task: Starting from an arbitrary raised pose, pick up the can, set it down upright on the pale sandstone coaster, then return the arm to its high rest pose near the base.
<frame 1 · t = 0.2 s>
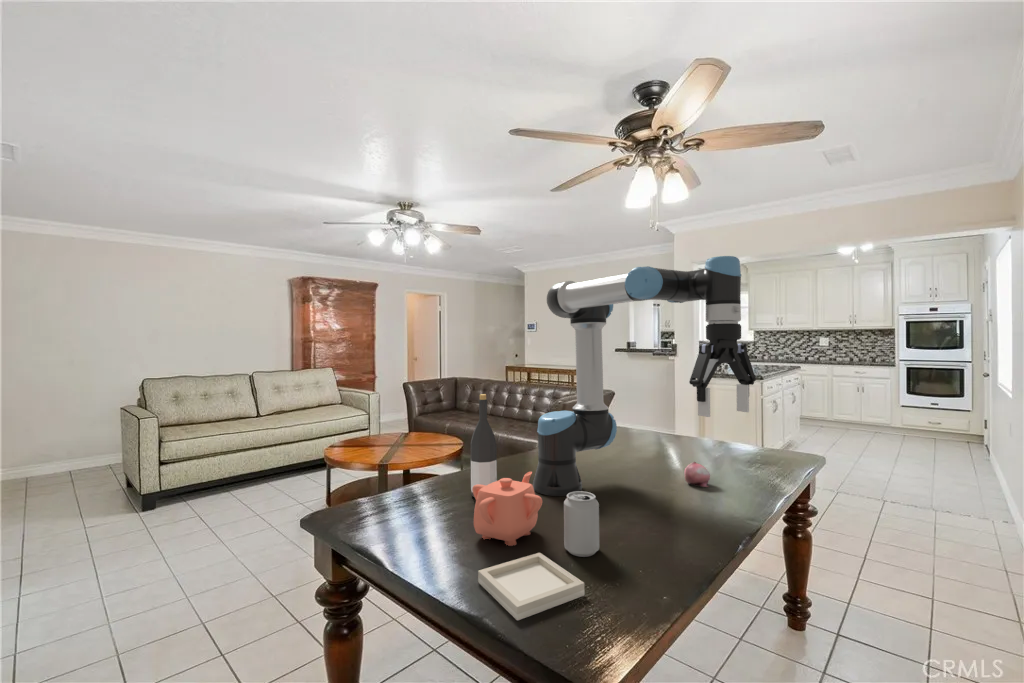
hand: (724, 413, 106), 28 cm above the table, fingers open, 13 cm apart
pink kettle: (508, 534, 107), on the table
coaster: (529, 588, 83), on the table
can: (581, 551, 98), on the table
wine bottle: (483, 495, 135), on the table
pomegranate: (697, 485, 142), on the table
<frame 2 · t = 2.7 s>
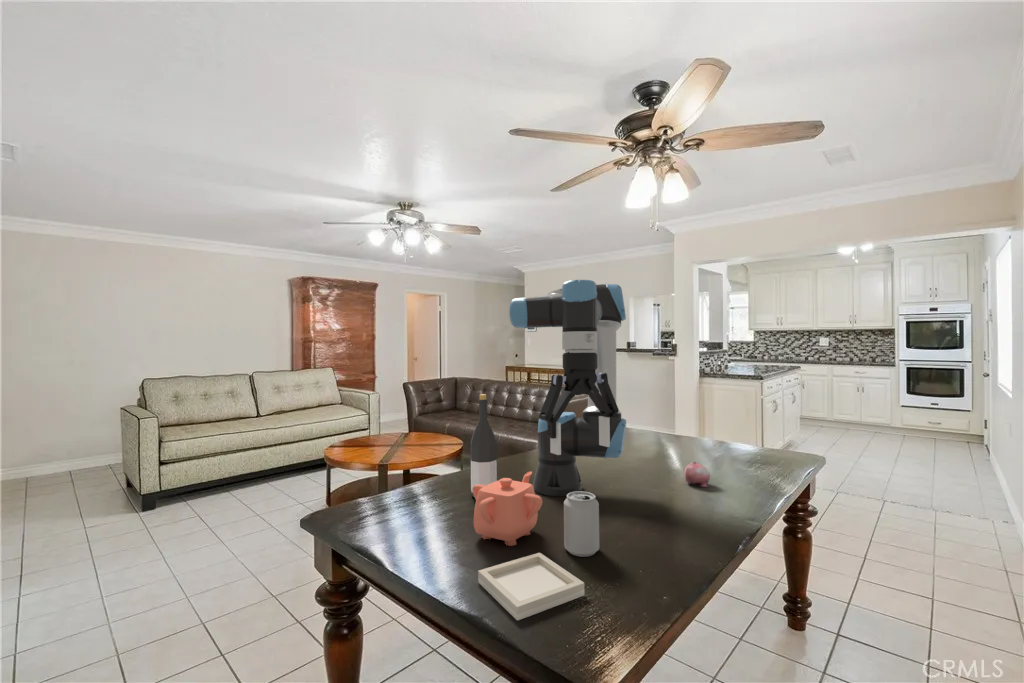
hand: (580, 449, 98), 22 cm above the table, fingers open, 13 cm apart
nothing on the table moved.
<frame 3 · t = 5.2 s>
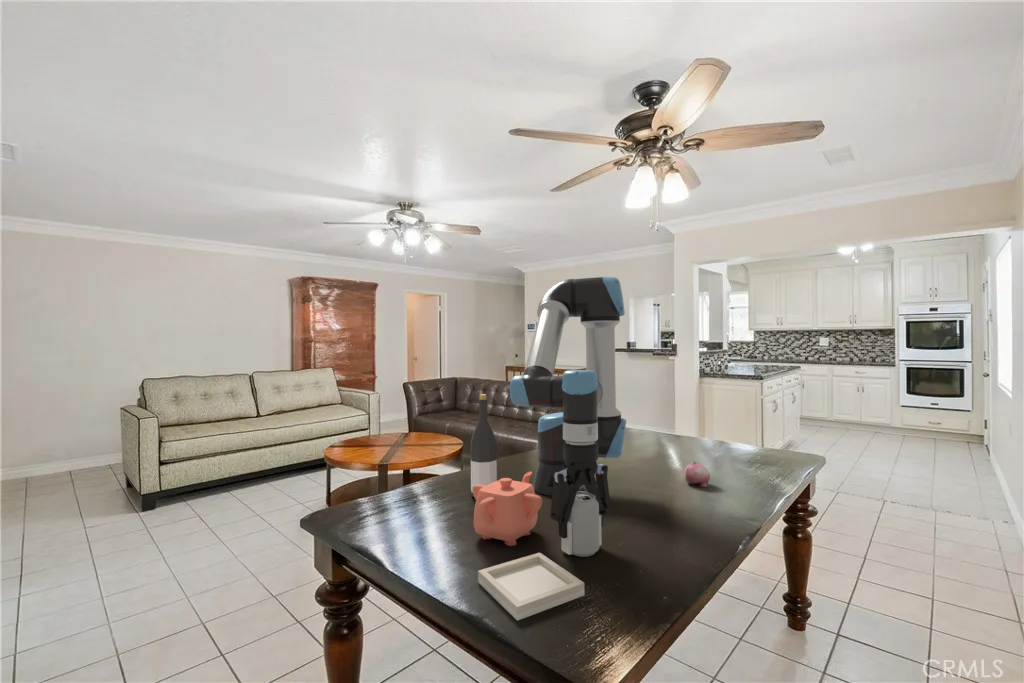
hand: (581, 547, 98), 1 cm above the table, fingers closed on can, 7 cm apart
can: (581, 551, 98), on the table, touching gripper
everything else where it was.
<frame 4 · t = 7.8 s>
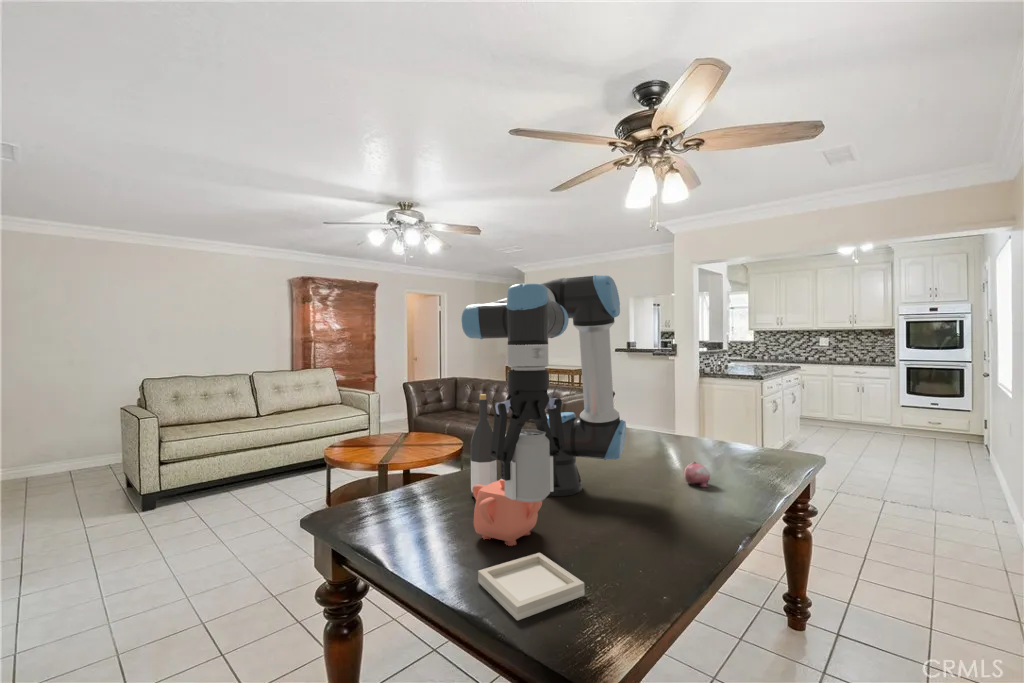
hand: (529, 493, 83), 17 cm above the table, fingers closed on can, 7 cm apart
can: (529, 498, 83), point 16 cm above the table, touching gripper
everything else where it was.
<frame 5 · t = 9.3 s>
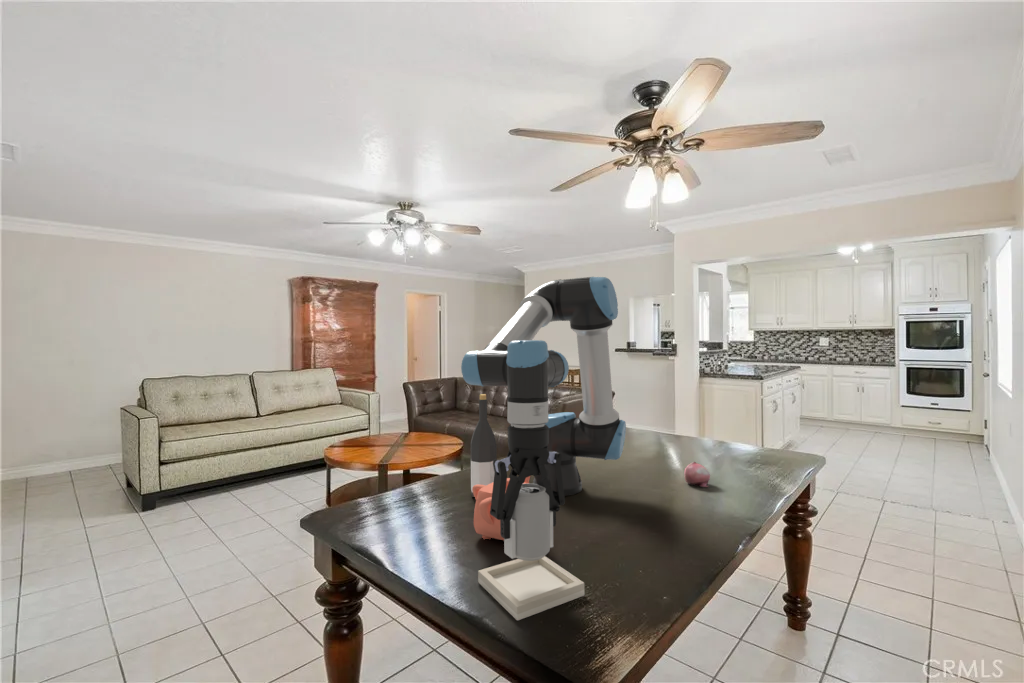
hand: (529, 549, 83), 7 cm above the table, fingers closed on can, 7 cm apart
can: (529, 554, 82), point 6 cm above the table, touching gripper
everything else where it was.
when the fingers open (3 cm above the table, at t = 10.4 s): can drops 1 cm, resting on coaster.
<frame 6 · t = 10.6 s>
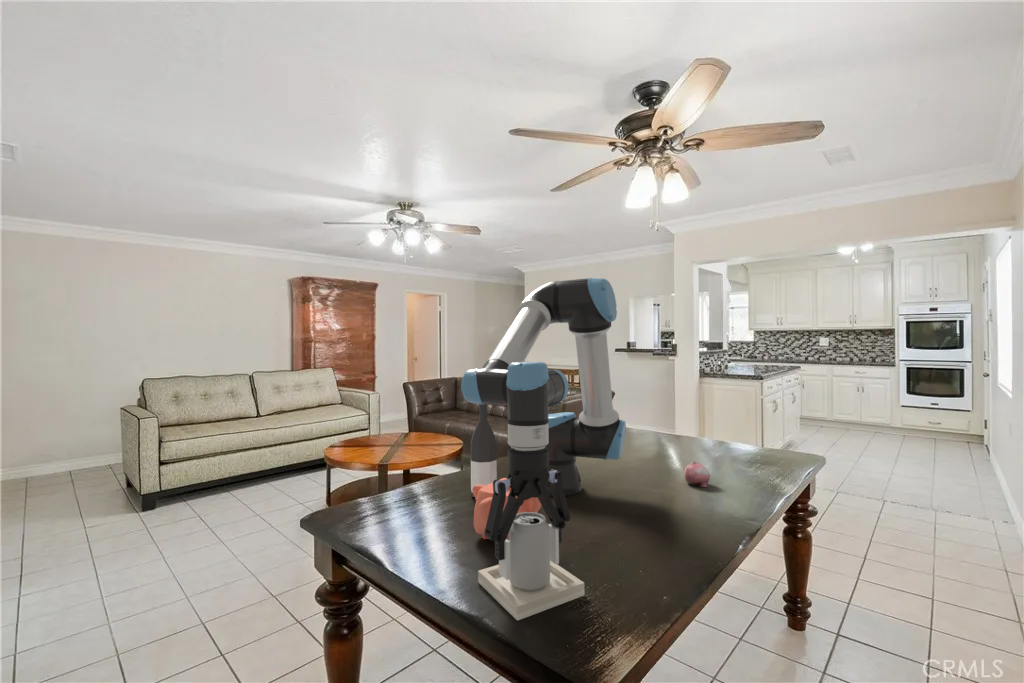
hand: (529, 568, 83), 4 cm above the table, fingers open, 10 cm apart
can: (529, 584, 83), point 1 cm above the table, touching coaster
everything else where it was.
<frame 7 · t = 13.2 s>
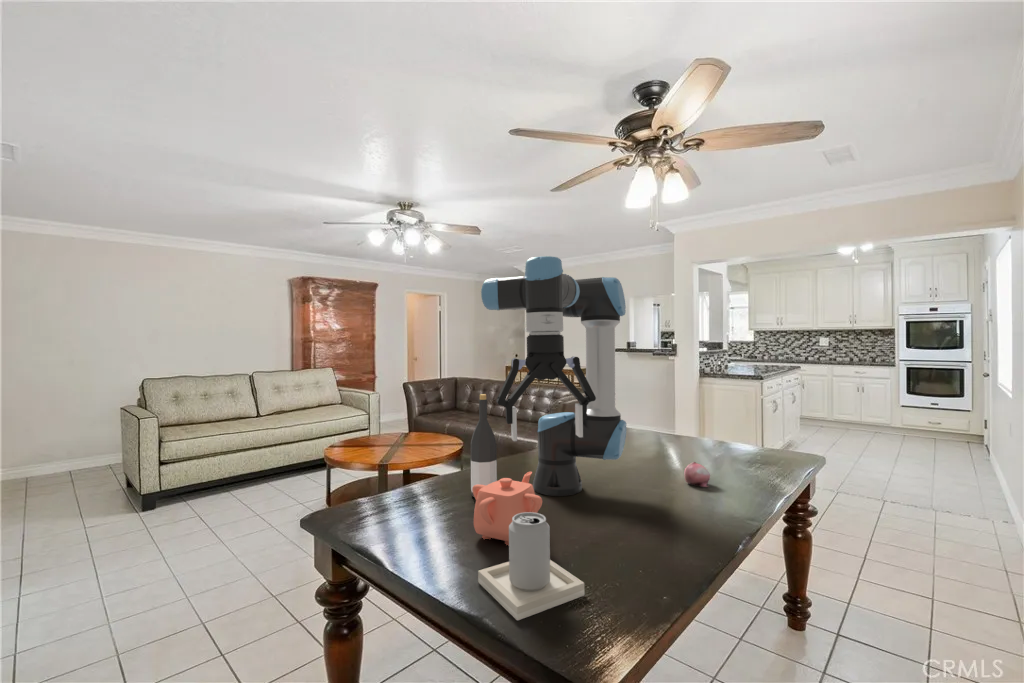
hand: (547, 437, 92), 25 cm above the table, fingers open, 13 cm apart
nothing on the table moved.
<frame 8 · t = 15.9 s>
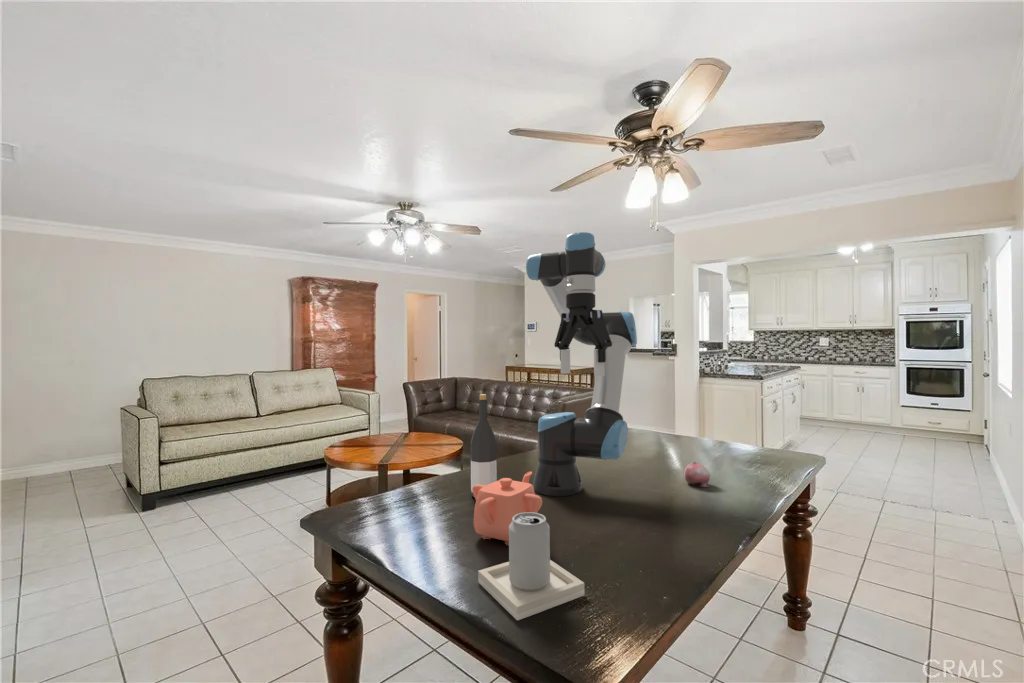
hand: (581, 374, 118), 37 cm above the table, fingers open, 13 cm apart
nothing on the table moved.
at the end: can inside the target area on the coaster (0.0 cm from its centre), point 0.8 cm above the coaster's base; can tilted 0°; the gripper is holding nothing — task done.
